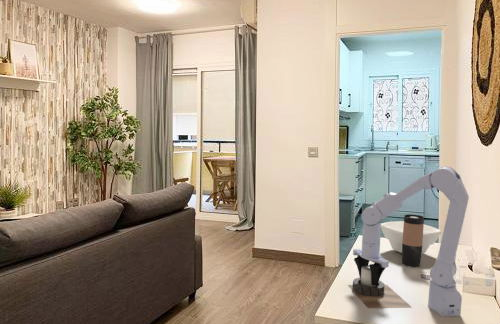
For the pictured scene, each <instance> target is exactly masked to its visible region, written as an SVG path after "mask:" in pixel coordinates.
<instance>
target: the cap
mask: <svg viewBox="0 0 500 324" xmlns="http://www.w3.org/2000/svg"><path fill="white" fill-rule="evenodd" d="M369 265H370V264H368V265H365V266H363V267H361V285H363V286H368V287H375V286H376V285H372V283H371V270H370V266H369Z"/></svg>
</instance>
